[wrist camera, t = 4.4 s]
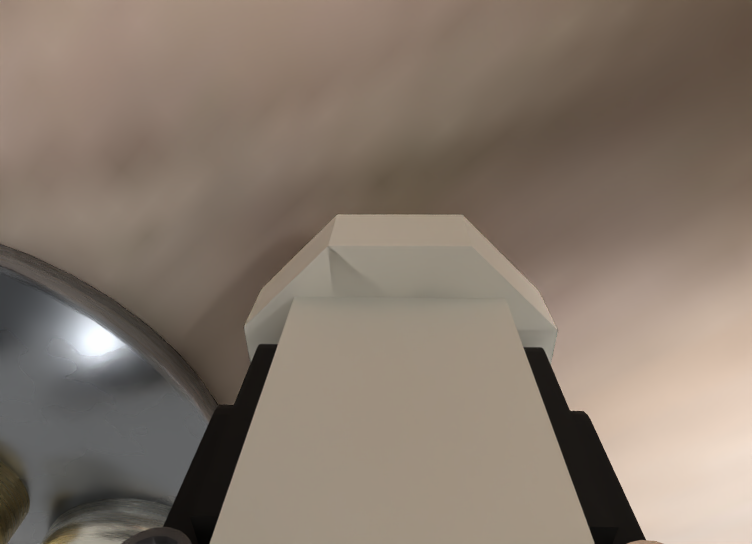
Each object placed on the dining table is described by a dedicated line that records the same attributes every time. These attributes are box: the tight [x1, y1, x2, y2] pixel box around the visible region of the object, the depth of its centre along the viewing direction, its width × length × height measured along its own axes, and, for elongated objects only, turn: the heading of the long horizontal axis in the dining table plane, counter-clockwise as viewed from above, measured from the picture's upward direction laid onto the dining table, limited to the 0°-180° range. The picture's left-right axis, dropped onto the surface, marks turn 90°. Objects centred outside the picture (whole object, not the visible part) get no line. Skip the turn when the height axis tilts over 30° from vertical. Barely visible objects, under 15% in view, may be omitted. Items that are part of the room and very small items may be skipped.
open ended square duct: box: [210, 214, 595, 544], centre depth 10 cm, size 7×7×7 cm
